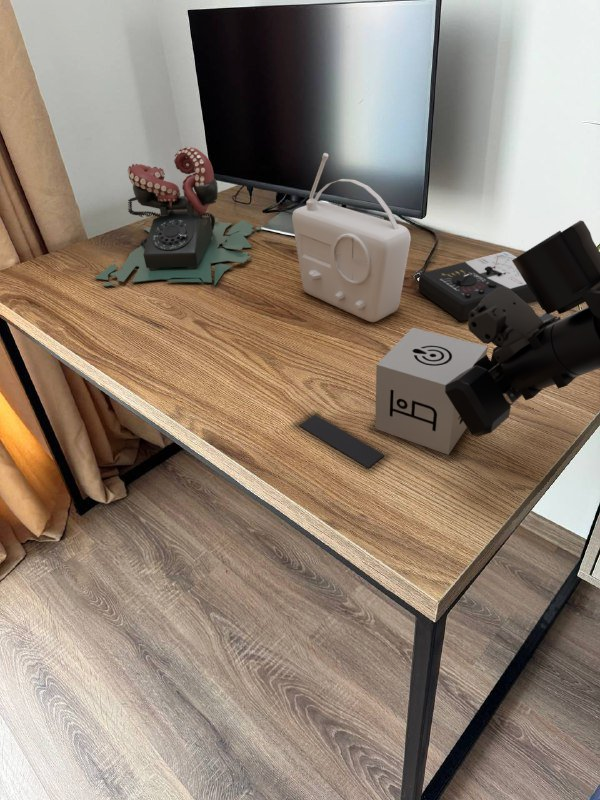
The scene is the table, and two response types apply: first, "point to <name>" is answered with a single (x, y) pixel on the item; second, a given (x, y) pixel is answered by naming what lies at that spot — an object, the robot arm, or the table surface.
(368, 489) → the table surface
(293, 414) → the table surface
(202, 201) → the telephone
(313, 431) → the felt mark
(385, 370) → the icon cube
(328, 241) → the radio
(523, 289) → the multimeter
